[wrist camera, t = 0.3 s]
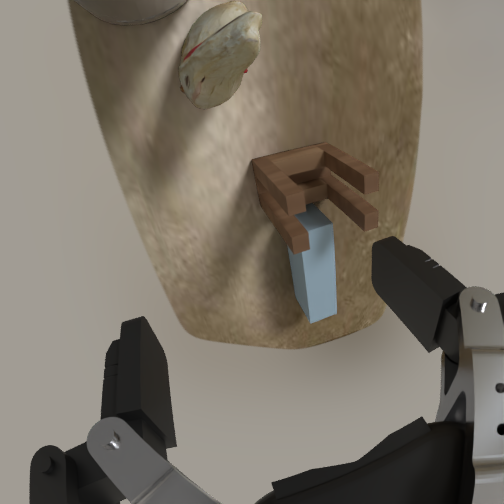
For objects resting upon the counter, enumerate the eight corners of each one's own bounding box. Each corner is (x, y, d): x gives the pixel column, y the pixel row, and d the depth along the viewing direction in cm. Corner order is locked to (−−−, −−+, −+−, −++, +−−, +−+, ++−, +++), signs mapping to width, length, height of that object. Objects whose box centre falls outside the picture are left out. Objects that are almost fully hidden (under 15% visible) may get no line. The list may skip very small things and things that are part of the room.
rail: (280, 210, 29) (299, 234, 25) (310, 201, 29) (332, 223, 26) (294, 296, 35) (310, 323, 32) (319, 287, 36) (336, 313, 32)
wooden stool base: (251, 159, 25) (285, 196, 19) (325, 142, 26) (378, 172, 20) (260, 205, 28) (293, 254, 22) (329, 186, 29) (377, 227, 22)
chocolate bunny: (148, 58, 19) (137, 47, 11) (231, -5, 18) (275, -46, 10) (196, 107, 22) (218, 131, 14) (275, 46, 21) (340, 38, 13)
